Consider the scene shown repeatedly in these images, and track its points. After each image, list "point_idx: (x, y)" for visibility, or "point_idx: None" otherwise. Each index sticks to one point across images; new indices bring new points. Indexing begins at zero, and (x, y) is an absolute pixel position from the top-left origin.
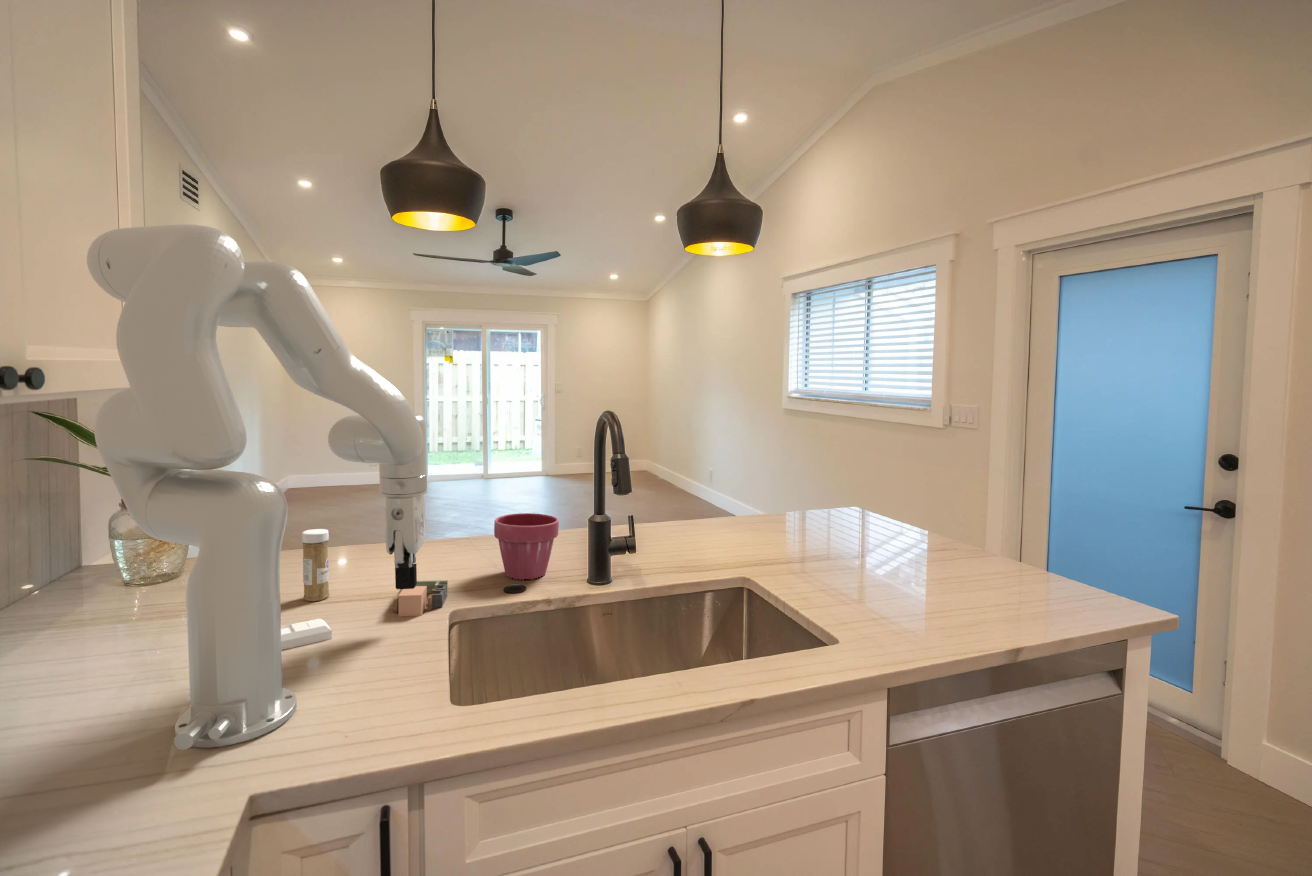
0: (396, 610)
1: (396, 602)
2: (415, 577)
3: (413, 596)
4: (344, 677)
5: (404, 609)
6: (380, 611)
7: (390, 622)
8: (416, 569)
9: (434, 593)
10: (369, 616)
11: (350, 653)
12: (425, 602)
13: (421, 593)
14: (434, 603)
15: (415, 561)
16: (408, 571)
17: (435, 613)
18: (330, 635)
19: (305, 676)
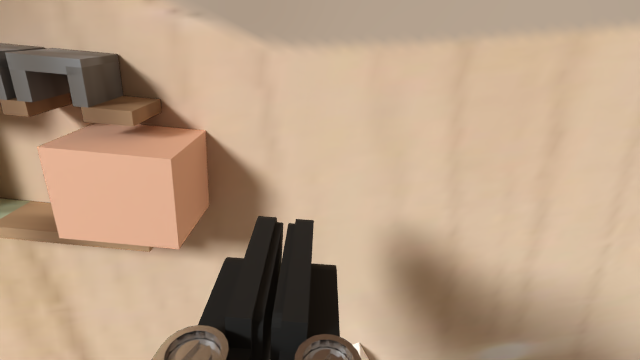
0: None
1: None
2: (267, 248)
3: (175, 190)
4: (635, 282)
5: (199, 198)
6: (164, 261)
7: None
8: (237, 279)
9: (37, 100)
10: (206, 283)
11: (479, 291)
12: (110, 128)
13: (146, 161)
14: (112, 90)
15: (189, 333)
16: (338, 332)
17: (186, 77)
18: (361, 352)
19: (578, 354)
